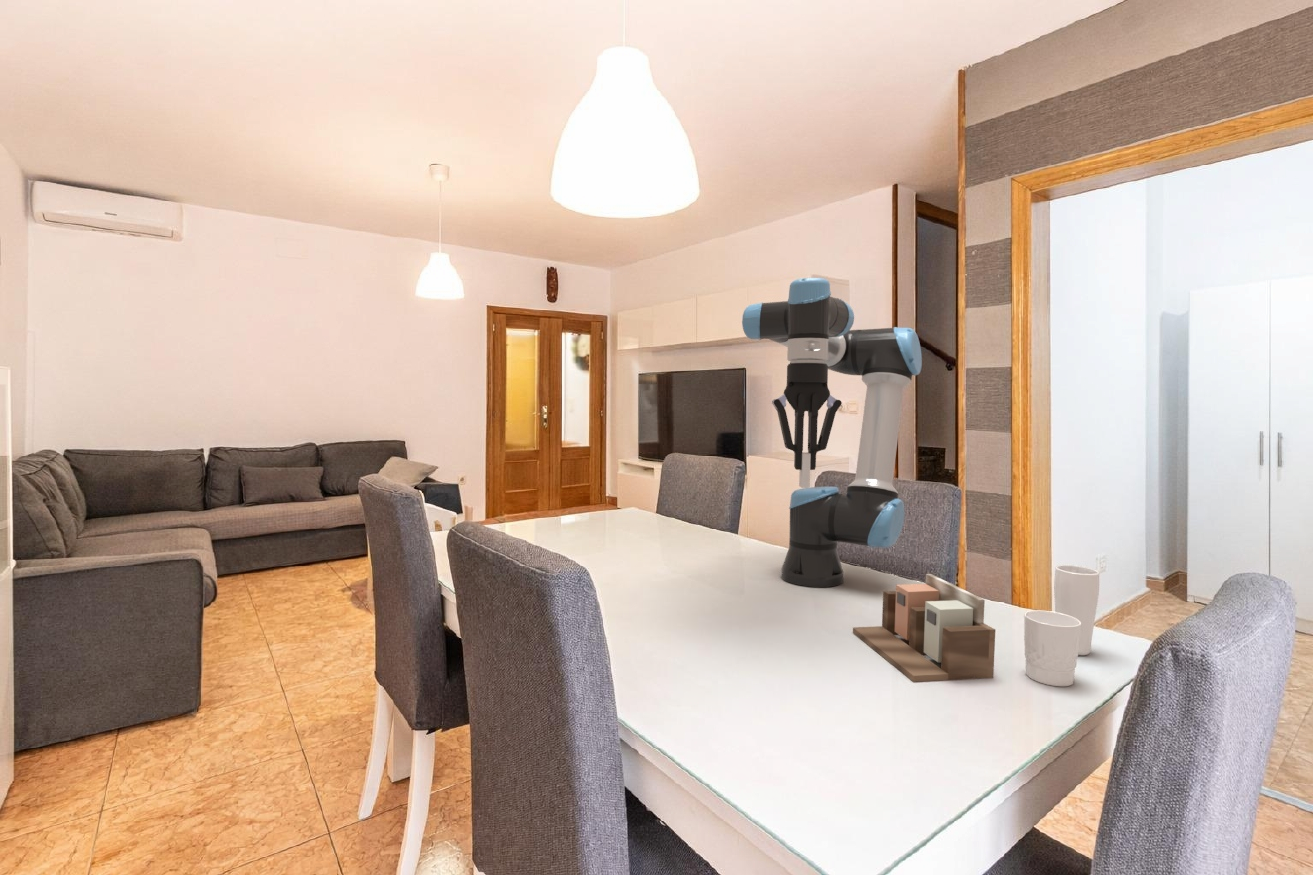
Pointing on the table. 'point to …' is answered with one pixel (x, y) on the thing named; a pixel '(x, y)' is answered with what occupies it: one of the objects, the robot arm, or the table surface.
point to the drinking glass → (1078, 599)
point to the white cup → (1051, 647)
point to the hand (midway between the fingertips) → (804, 486)
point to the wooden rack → (961, 646)
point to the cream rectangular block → (943, 623)
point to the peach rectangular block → (911, 604)
